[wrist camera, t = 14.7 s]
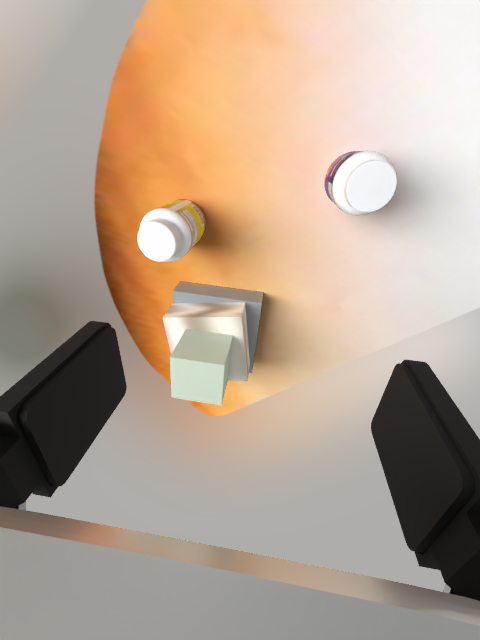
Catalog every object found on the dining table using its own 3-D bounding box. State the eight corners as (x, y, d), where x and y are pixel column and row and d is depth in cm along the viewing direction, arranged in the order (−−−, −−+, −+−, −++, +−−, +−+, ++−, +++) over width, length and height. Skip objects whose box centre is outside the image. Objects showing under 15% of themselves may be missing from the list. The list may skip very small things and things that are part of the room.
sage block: (232, 335, 35) (224, 365, 30) (229, 372, 38) (221, 405, 33) (186, 328, 36) (169, 357, 31) (186, 365, 39) (171, 397, 34)
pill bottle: (363, 140, 30) (395, 134, 22) (380, 188, 32) (415, 199, 24) (315, 170, 32) (327, 175, 24) (334, 213, 34) (351, 232, 26)
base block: (263, 290, 41) (262, 303, 37) (253, 357, 47) (251, 373, 43) (181, 279, 41) (172, 290, 38) (182, 346, 47) (175, 361, 44)
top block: (245, 302, 37) (241, 316, 34) (249, 362, 42) (247, 380, 39) (172, 303, 39) (162, 317, 35) (185, 361, 44) (177, 379, 40)
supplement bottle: (159, 231, 38) (123, 254, 29) (172, 190, 35) (136, 201, 26) (198, 250, 38) (173, 278, 30) (213, 211, 36) (191, 229, 27)
